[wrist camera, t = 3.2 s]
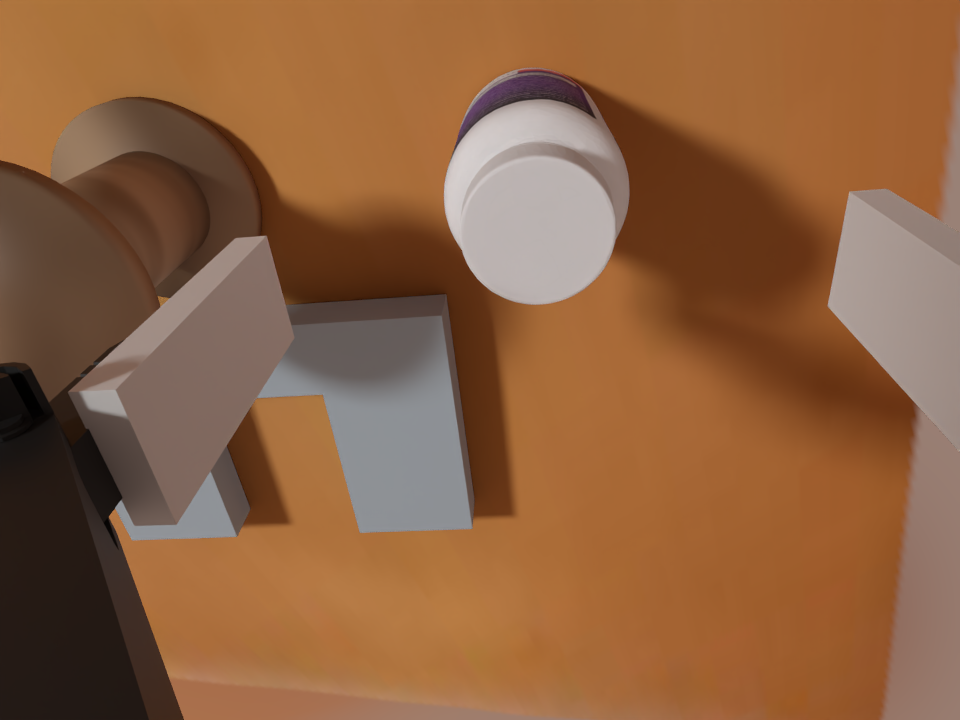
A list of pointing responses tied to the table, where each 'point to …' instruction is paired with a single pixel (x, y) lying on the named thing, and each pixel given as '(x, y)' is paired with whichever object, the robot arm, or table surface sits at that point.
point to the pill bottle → (535, 187)
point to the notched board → (364, 419)
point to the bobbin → (113, 230)
